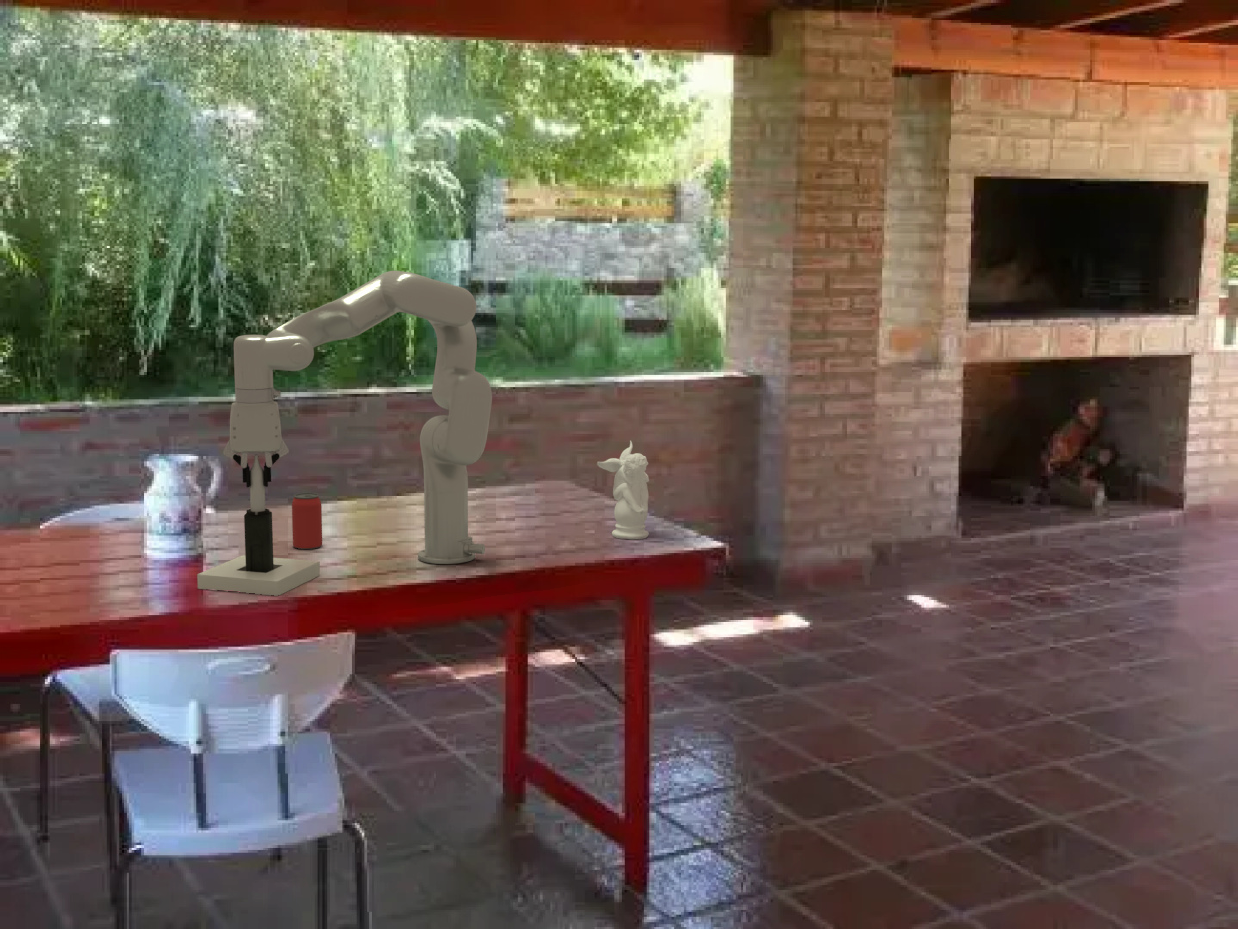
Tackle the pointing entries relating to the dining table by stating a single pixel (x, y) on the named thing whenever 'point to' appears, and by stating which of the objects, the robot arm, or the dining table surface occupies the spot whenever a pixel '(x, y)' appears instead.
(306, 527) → the beer can
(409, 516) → the dining table surface
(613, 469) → the cherub figurine
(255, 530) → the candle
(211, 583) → the candle base
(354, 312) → the robot arm
